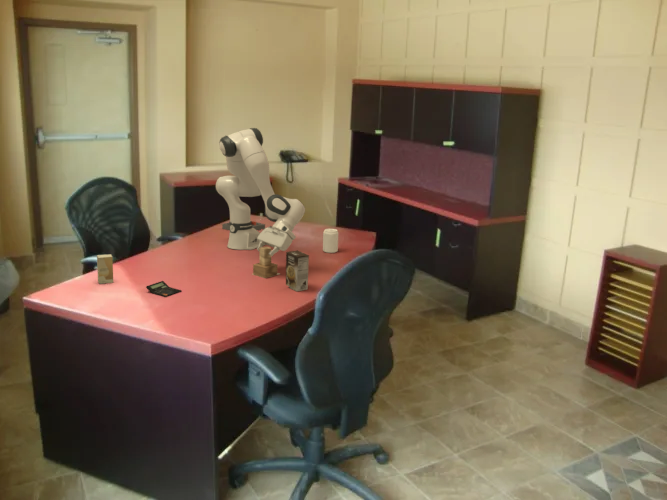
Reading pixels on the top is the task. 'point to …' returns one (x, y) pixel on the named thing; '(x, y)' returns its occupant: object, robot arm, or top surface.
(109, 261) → the skincare box
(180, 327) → the top surface
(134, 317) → the top surface
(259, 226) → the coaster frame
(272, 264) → the walnut brick
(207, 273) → the top surface
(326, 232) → the beverage can
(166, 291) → the calculator
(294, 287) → the coffee box
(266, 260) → the oak block
